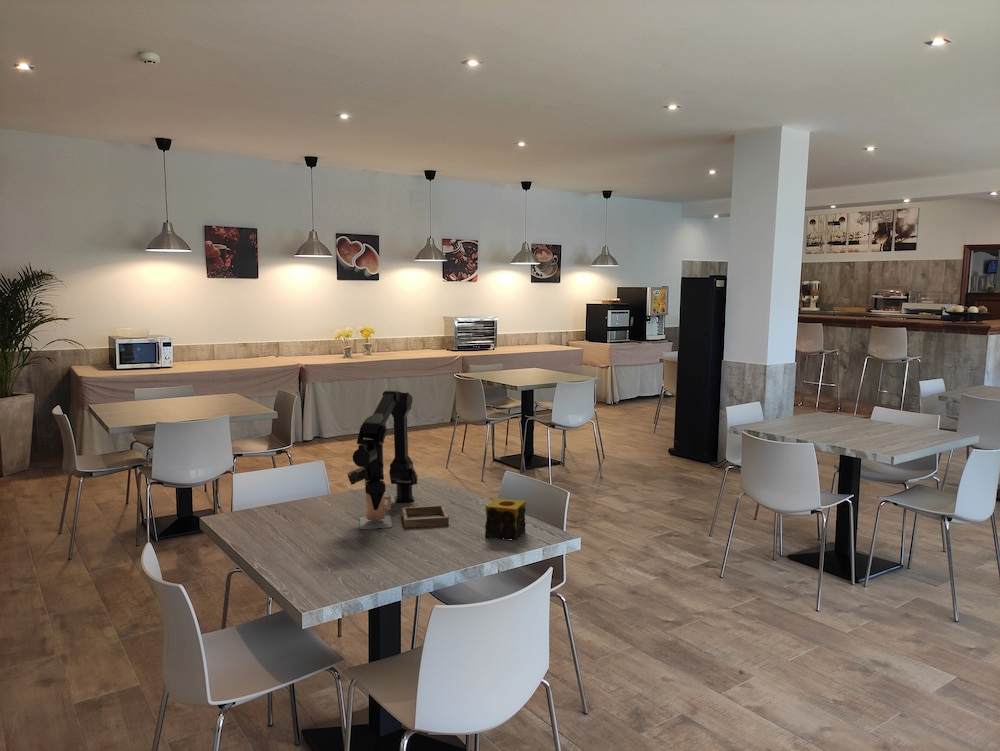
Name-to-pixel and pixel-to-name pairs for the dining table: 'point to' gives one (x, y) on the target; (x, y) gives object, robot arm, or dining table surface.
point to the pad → (375, 523)
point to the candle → (505, 519)
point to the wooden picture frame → (425, 521)
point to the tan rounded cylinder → (378, 513)
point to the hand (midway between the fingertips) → (375, 506)
